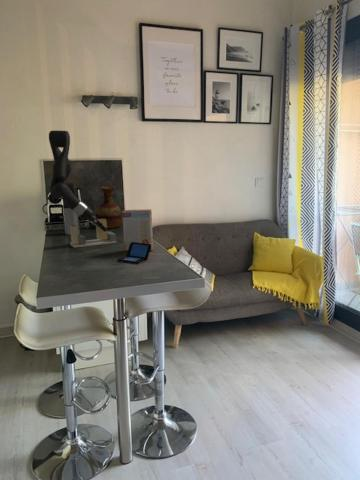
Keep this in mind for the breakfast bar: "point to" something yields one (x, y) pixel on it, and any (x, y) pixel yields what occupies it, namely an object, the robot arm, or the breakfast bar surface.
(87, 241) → the vise
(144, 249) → the handheld game console
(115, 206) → the brown vase
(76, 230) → the sliding jaw
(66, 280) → the breakfast bar surface
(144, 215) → the cracker box
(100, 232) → the brass block
